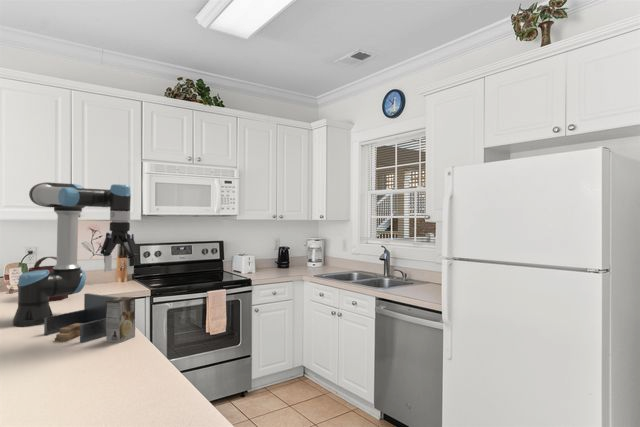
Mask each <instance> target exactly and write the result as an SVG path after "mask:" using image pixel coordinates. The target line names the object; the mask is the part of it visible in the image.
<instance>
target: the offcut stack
mask: <svg viewBox="0 0 640 427" xmlns="http://www.w3.org/2000/svg"><path fill="white" fill-rule="evenodd" d="M80 324H84V323H75V324H72V325H69V326H66V327H64V328H61V329H59V332H58V333H56V334H55V338H54V342H59V343H60V342H70V341H72V340H74V339H76V338H78V337H79V338H80Z"/></svg>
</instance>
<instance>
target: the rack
mask: <svg viewBox="0 0 640 427" xmlns="http://www.w3.org/2000/svg"><path fill="white" fill-rule="evenodd" d="M83 295H84V301H83V302H84V304H83V306H84V307H83V309H79V310H76V311H71V312H66V313H61V314H57V315H53V316H51V317H46V318H44V324H43V325H44V326H43V327H44V332H43V335H44V336H50V335H54V334H59V329H61V328H64V327H66V326H69V325H72V324H75V323H84V324H80V336H79V343H81V344H83V343H87V342H92V341H93V340H97V339H101V338H104V337H105V338H106V301H109V300H113V299H116V298H120V297H119V296H112V295H104V294H96V293H95V294H94V293H88V292H87V293H84V294H83Z"/></svg>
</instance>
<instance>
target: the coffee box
mask: <svg viewBox="0 0 640 427" xmlns="http://www.w3.org/2000/svg"><path fill="white" fill-rule="evenodd" d="M134 337H136V297H135V296H134V297H132V296H131V297H130V296H121V297H120V298H116V299H113V300H109V301H106V336H105V338H106V339H105V340H106V343H117V344H120V343H122V342H125V341H128V340H129V339H131V338H134Z"/></svg>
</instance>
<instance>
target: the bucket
mask: <svg viewBox="0 0 640 427" xmlns="http://www.w3.org/2000/svg"><path fill="white" fill-rule="evenodd" d="M47 259H53V260H55V261H57V256H43V257H41V258H40V259H38V260H37V261H35V263H34V266H32V267H29V268H28V272H31V271H36V270H49V272H53V267H54V266H55V265H43V266H40V265H41V264H42V262H44V261H45V260H47ZM68 297H69V295H61V296H54V297H49V303H50V302H58V301H59V302H60V301H64V300H65V299H68Z"/></svg>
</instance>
